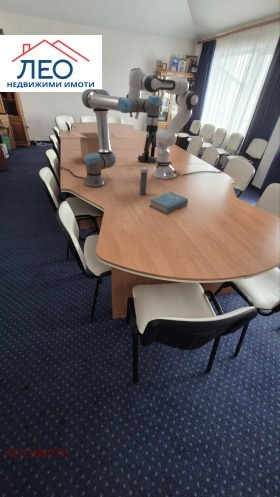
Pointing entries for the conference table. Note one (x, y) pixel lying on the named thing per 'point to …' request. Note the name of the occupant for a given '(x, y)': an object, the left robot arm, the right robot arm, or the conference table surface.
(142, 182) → the dark grey cylinder
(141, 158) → the laser sight
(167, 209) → the book
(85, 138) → the box
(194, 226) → the conference table surface
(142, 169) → the lid
